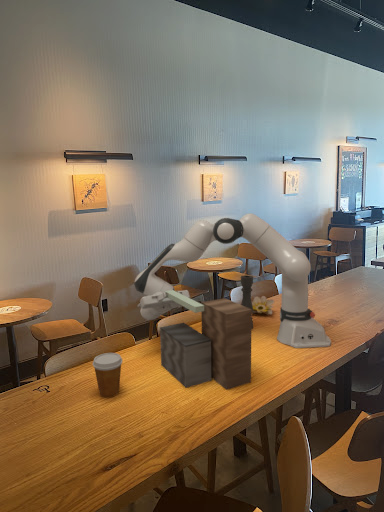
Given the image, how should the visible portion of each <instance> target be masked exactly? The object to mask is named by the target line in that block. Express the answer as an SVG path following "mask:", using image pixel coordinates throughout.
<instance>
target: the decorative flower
mask: <svg viewBox="0 0 384 512" xmlns="http://www.w3.org/2000/svg"><path fill="white" fill-rule="evenodd" d="M251 301H252V306H253V311H252V314H256V313H257V314H260V315H262V314H263V313H264V314H265V315H267V316H270V315H273V311H274V310H273V308H274V306H273V304H274V303H275V300H274V299H267V297H266V296H264V295H262V296H261V297H260V296H254V297H253V300H251Z"/></svg>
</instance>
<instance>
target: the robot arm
mask: <svg viewBox="0 0 384 512" xmlns="http://www.w3.org/2000/svg"><path fill="white" fill-rule="evenodd" d="M239 238H243V239H245V240H246V241H248V242H249V243H250V244H251V245H252V246H253V247H254V248H255V249H257V250H258V251H259V252H260V253H261V254H263V255H264V256H265V257H266V258H267V259H268V260H269V261H270V262H271V263H272V264H273V265H274V266H275V267H276V268H277V270H279V271H281V306H280V310H279V321H280V324H279V329H278V334H277V336H276V339H277V341H278V342H280V343H281V344H284V345H288V346H291V348H295V349H301V348H302V349H303V348H306V349H307V348H321V347H322V348H323V347H325V348H326V347H330V346H331V344H332V341H331V338H330V337H329V336H328V335H327V334H326V330H325V328H324V325H322V324H321V323H320V322H318V321H317V320H316V319H315V317H316V314H315V312H314V311H313V310H312V309H310V308H309V307H308V306H309V275H310V272H311V268H312V267H311V263H310V260H309V258H308V257H307V255H306V253H304V252H303V251H302V250H299V249H297V248H296V246H294V245H293V244H292V243H290V241H288V239H286V238H285V237H284V236H283V235H282V234H281V233H279V231H277V230H276V229H275V228H273V226H272V225H270V224H269V223H267V221H265V220H264V219H262V218H260V217H259V216H258V215H256V214H254V213H252V212H251V213H246V214H244V215H242V217H240V218H239V219H234V218H230V217H224V218H220V219H219V220H217V221H216V222H215V223H210V222H209V221H207V220H204V219H203V220H202V219H200V220H197V221H196V222H195V223H194V224H193V225H192V226H191V227H190V229H188V231H187V232H186V233H185V235H184V236H183V238H182V239H181V240H180V241H178V242H176V243H170V244H169V245H167V246H166V247H165V248H164V249H163V250H162V251H161V252H160V253H159V255H157V256H156V257H155V258H154V260H152V261H151V262H150V264H148V265H147V266H146V267H145V268H144V269H143V270H142V271H141V272H139V273H138V274H137V276H135V279H134V282H133V284H134V285H133V286H134V287H135V289H136V291H137V292H139V293H141V294H143V295H145V296H142V297H141V298H140V300H139V302H140V303H138V304H137V305H136V306H137V307H138V308H140V311H139V312H140V314H141V316H142V318H143V319H145V320H147V321H153V320H155V319H158V318H159V317H160V316H162V315H163V314H165V313H168V312H169V311H172V310H175V309H178V308H180V307H181V306H182V305H180V304H178V303H176V302H175V301H173V300H171V299H169V298H167V297H168V293H167V292H166V293H165V291H169V290H174V291H176V292H178V293H180V294H182V295H184V296H186V297H188V298H190V299H191V297H190V292H189V290H187V289H185V290H175V287H174V286H173V285H172V284H170V283H169V282H167V281H166V280H164V279H162V278H161V277H159V276H157V275H156V274H155V273H156V272H157V271H158V270H159V269H160V268H161V267H162V266H163V265H164V264H165V263H166V262H168V261H179V262H182V263H183V262H184V263H193V262H196V261H197V262H198V260H200V258H201V257H202V256H203V255H204V253H205V252H206V250H207V249H208V247H209V246H210V245H211V244H212V243H213V242H215V241H217V242H219V243H220V244H224V245H225V244H226V245H227V244H228V245H229V244H231V243H233V242H235V241H237V240H238V239H239Z"/></svg>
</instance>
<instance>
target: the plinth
mask: <svg viewBox="0 0 384 512" xmlns="http://www.w3.org/2000/svg"><path fill="white" fill-rule="evenodd" d="M200 304H202V305H204V311H203V312H200V313H201V334H203V335H204V336H206V337H208V338H209V339H211V380H213V381H214V382H216V383H217V384H218V385H220V386H221V387H222V388H224V389H225V390H227V391H228V390H230V389H234V388H237V387H241V386H245V385H247V384H250V383H252V330H253V329H252V320H253V319H252V318H253V316H252V314H253V313H252V309H249V308H247V307H245V306H242V305H241V303H238V302H235V301H233V300H231V299H228V298H225V297H224V298H219V299H213V300H206V301H201V303H200Z"/></svg>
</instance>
